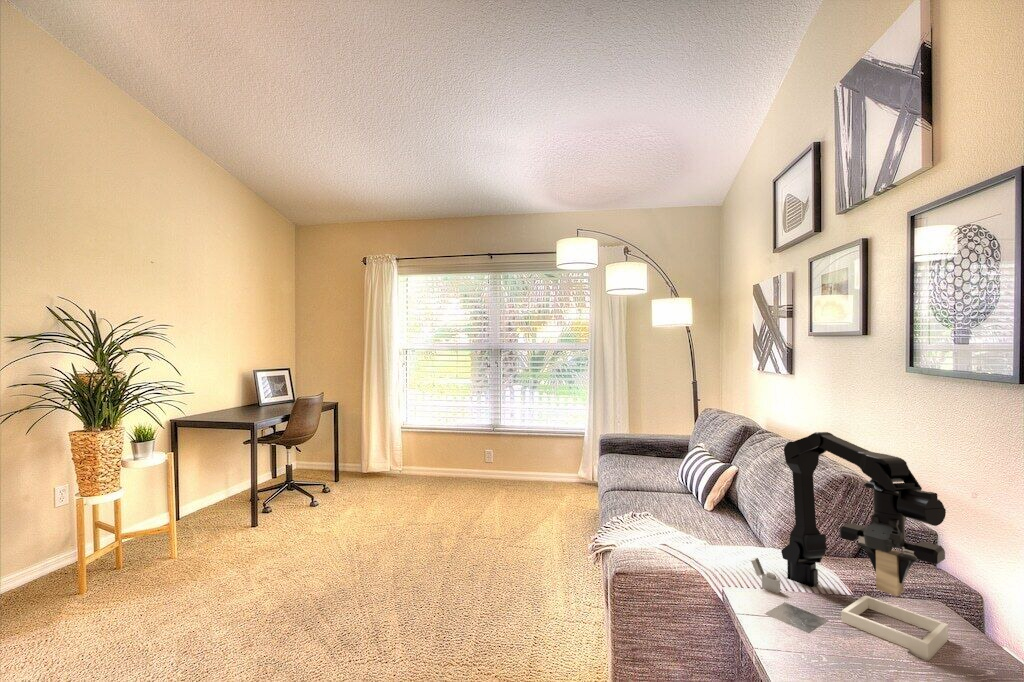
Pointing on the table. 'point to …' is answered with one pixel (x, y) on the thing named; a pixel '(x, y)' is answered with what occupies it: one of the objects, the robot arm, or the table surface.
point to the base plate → (796, 617)
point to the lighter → (766, 577)
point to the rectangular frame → (917, 646)
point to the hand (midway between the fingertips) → (889, 579)
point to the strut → (888, 572)
